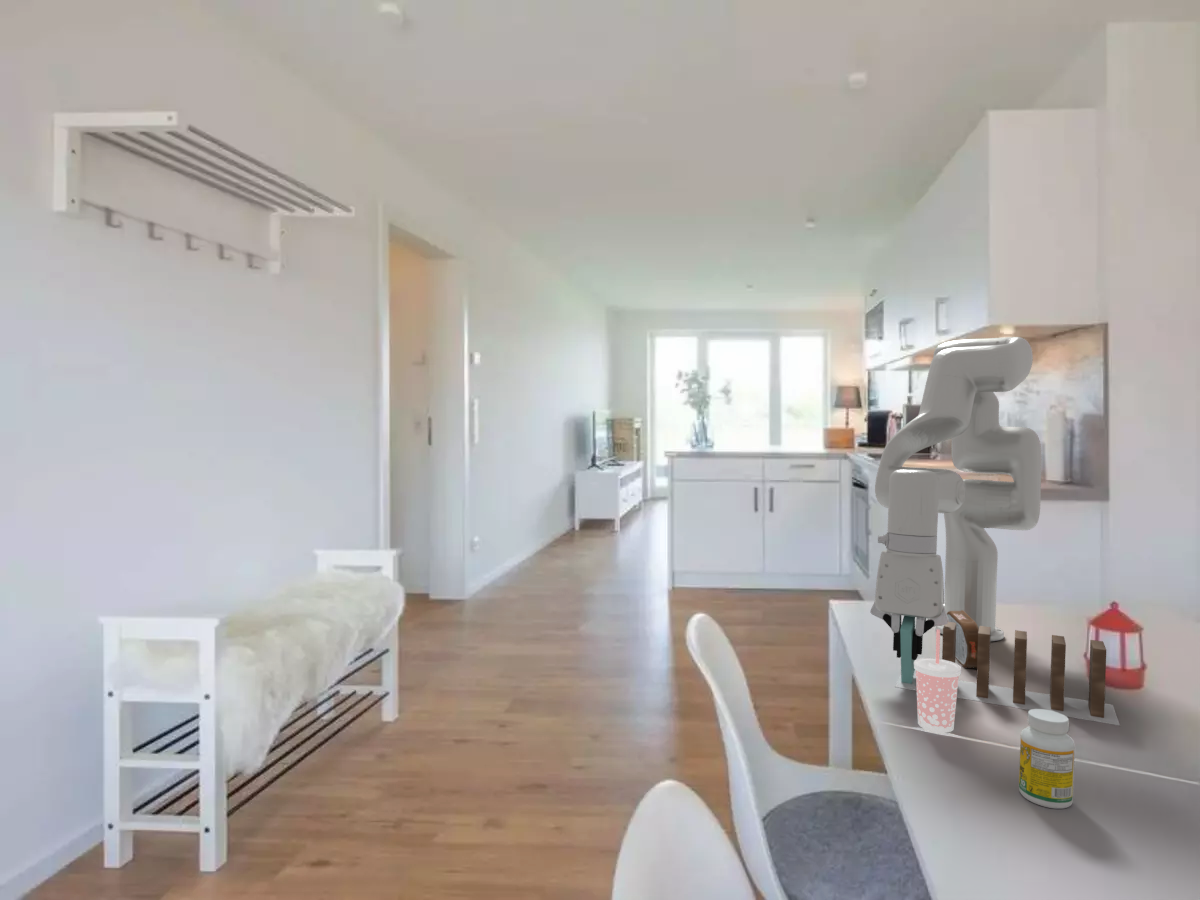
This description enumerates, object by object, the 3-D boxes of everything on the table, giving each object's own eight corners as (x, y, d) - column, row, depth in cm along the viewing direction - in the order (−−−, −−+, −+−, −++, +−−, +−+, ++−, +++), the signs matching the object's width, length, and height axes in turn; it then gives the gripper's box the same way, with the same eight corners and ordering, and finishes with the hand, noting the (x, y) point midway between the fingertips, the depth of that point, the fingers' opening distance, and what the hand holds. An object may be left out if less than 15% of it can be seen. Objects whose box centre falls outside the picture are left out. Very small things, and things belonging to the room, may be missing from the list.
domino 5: (1050, 709, 112) (1053, 642, 111) (1049, 698, 116) (1051, 634, 116) (1063, 711, 111) (1065, 644, 111) (1061, 700, 115) (1064, 636, 115)
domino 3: (976, 696, 117) (978, 633, 116) (977, 686, 121) (979, 625, 121) (987, 698, 116) (989, 634, 116) (988, 688, 120) (990, 627, 120)
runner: (894, 688, 121) (894, 686, 121) (902, 672, 129) (902, 670, 129) (1119, 727, 106) (1119, 725, 106) (1112, 706, 114) (1112, 704, 114)
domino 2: (941, 690, 119) (942, 628, 119) (944, 681, 124) (945, 621, 123) (952, 692, 118) (954, 629, 118) (954, 683, 123) (956, 622, 122)
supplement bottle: (1068, 815, 82) (1071, 728, 81) (1013, 799, 85) (1016, 716, 85) (1076, 796, 86) (1079, 714, 86) (1023, 782, 89) (1026, 702, 89)
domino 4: (1012, 702, 114) (1014, 637, 114) (1013, 692, 119) (1015, 630, 118) (1024, 704, 113) (1026, 639, 113) (1024, 694, 118) (1026, 631, 117)
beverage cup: (939, 739, 101) (942, 637, 101) (902, 723, 107) (905, 626, 106) (969, 731, 104) (972, 632, 103) (931, 716, 109) (934, 621, 109)
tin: (984, 675, 128) (985, 626, 127) (964, 674, 128) (965, 625, 128) (960, 649, 143) (961, 605, 142) (942, 648, 143) (943, 604, 143)
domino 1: (901, 682, 123) (900, 629, 120) (905, 665, 127) (904, 613, 124) (911, 684, 122) (911, 630, 119) (915, 666, 126) (915, 614, 123)
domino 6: (1090, 715, 109) (1093, 648, 109) (1088, 704, 114) (1090, 639, 113) (1104, 718, 109) (1106, 649, 108) (1100, 706, 113) (1103, 641, 113)
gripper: (857, 542, 123) (853, 654, 123) (963, 552, 115) (958, 671, 115) (865, 538, 130) (861, 644, 130) (966, 547, 122) (961, 659, 122)
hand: (907, 656), depth 123 cm, fingers closed on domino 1, 1 cm apart
